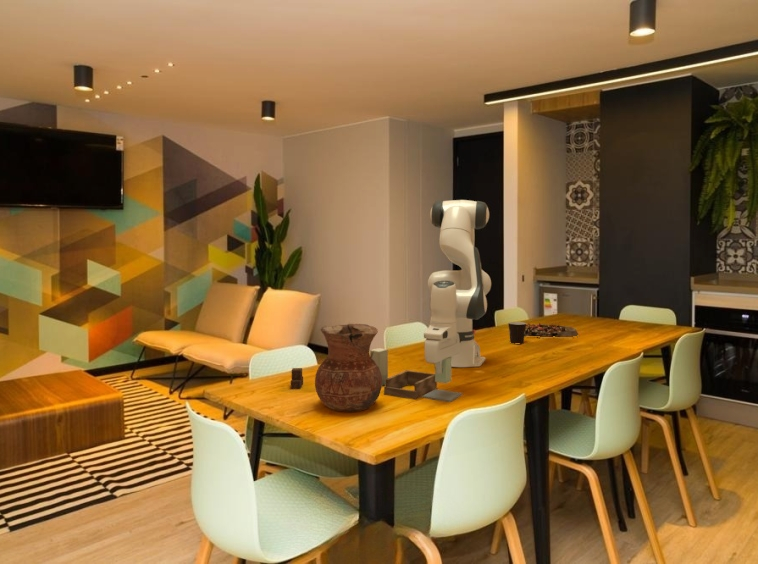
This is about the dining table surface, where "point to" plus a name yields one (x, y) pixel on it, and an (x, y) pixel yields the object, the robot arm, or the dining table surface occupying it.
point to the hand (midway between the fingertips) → (443, 371)
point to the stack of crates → (296, 378)
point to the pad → (442, 395)
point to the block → (444, 372)
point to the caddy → (418, 379)
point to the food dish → (549, 331)
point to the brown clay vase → (348, 369)
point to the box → (381, 362)
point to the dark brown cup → (517, 332)
